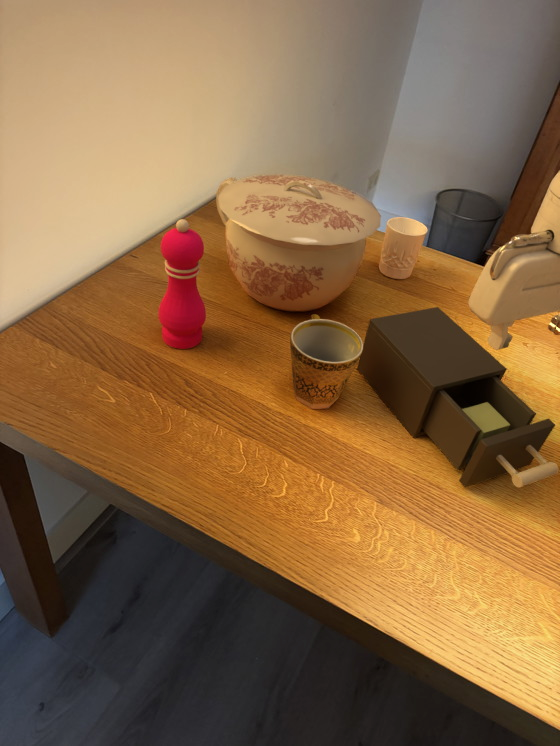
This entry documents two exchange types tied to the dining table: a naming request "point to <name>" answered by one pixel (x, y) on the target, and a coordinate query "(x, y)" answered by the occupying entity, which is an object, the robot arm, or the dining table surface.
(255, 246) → the chamber pot
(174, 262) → the pepper mill
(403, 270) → the white cup
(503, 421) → the block
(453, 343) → the drawer box
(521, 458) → the dark brown drawer
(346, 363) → the ceramic cup
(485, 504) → the dining table surface
